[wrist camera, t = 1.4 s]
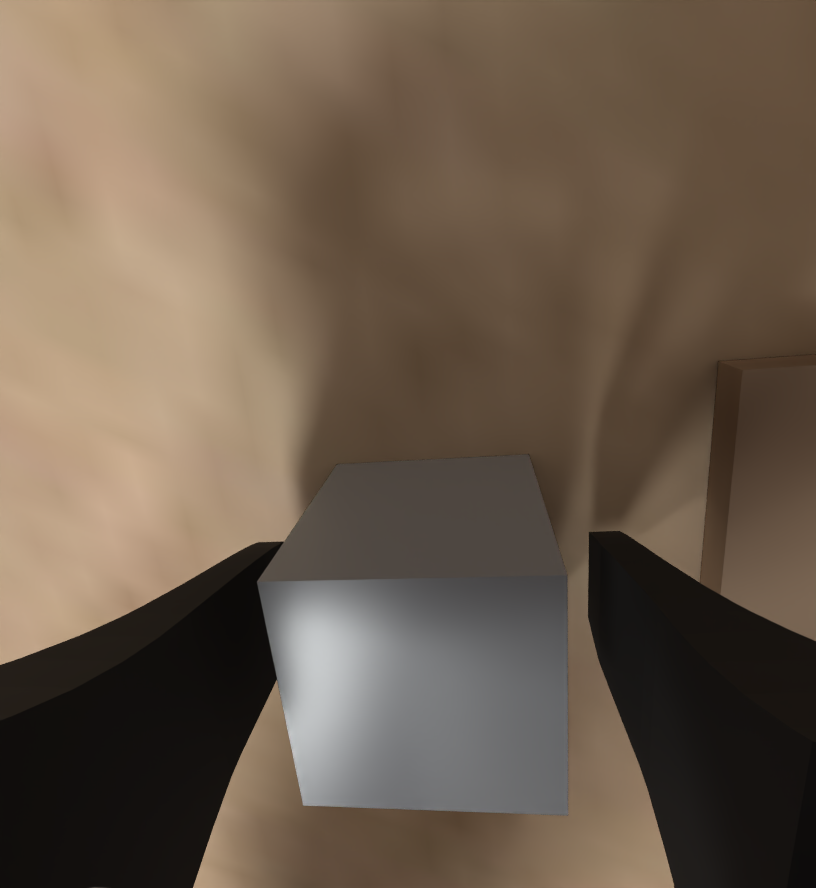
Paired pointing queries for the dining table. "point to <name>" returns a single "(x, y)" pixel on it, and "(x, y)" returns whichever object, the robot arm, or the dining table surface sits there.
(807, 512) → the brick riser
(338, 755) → the gray brick
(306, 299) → the dining table surface
